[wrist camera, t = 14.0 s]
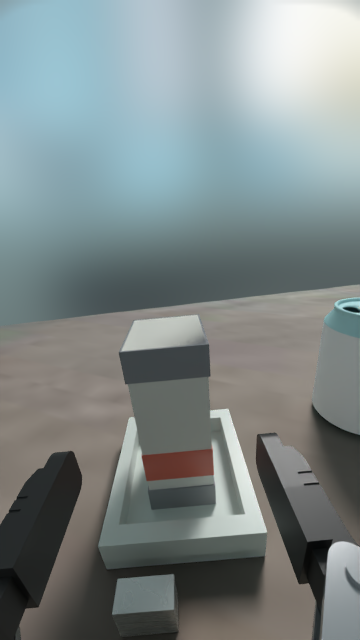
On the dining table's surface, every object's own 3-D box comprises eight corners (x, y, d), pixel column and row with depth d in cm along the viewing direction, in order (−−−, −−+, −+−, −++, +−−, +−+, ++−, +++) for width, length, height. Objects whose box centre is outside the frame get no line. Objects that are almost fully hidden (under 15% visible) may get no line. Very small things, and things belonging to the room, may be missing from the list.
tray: (106, 569, 14) (97, 546, 13) (133, 436, 23) (129, 417, 23) (265, 556, 14) (267, 532, 13) (228, 427, 23) (228, 408, 22)
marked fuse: (151, 509, 16) (118, 352, 12) (156, 451, 21) (133, 320, 16) (216, 504, 16) (209, 344, 12) (206, 446, 21) (198, 314, 16)
